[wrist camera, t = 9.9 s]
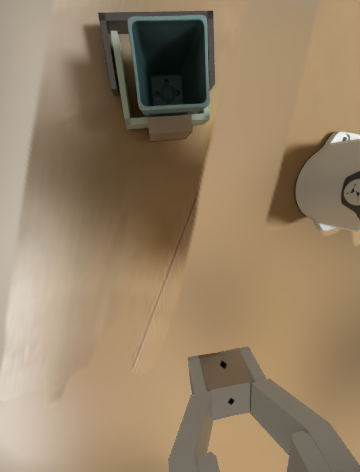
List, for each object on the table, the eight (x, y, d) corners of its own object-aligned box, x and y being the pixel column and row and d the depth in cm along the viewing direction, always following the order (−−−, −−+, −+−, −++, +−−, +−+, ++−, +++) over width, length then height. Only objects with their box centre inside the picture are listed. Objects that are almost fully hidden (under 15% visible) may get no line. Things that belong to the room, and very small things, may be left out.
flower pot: (143, 127, 32) (138, 110, 23) (134, 62, 29) (126, 15, 20) (195, 124, 33) (210, 106, 24) (192, 60, 30) (207, 14, 21)
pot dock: (208, 24, 29) (213, 10, 26) (210, 90, 31) (215, 83, 29) (103, 26, 27) (98, 12, 25) (114, 95, 30) (110, 88, 28)
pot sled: (200, 42, 29) (212, 10, 23) (205, 137, 33) (215, 129, 27) (115, 45, 28) (105, 12, 22) (130, 143, 32) (124, 136, 26)
